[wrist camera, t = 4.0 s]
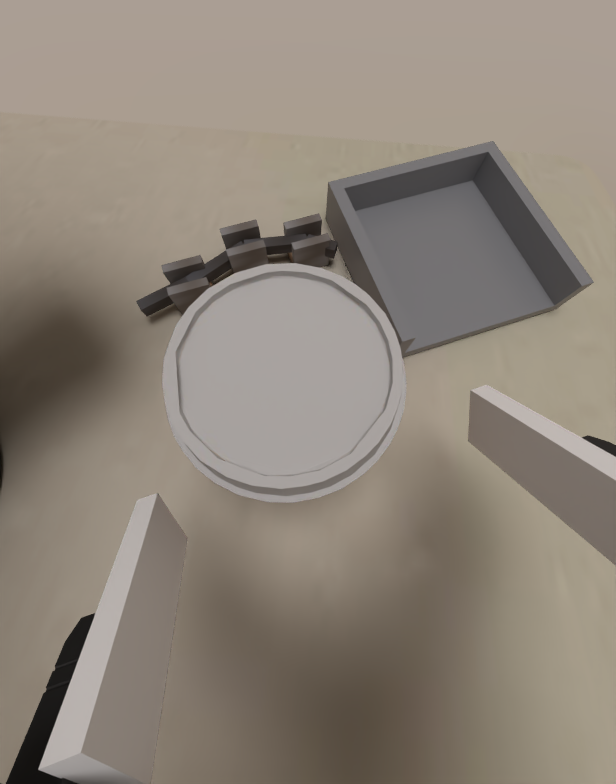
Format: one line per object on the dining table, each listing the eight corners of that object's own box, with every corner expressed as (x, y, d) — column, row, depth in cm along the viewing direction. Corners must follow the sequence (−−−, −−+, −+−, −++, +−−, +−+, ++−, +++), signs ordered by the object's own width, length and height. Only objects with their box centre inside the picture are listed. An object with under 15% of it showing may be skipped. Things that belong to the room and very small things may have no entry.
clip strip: (151, 325, 25) (132, 305, 22) (142, 277, 26) (123, 253, 23) (340, 271, 26) (344, 247, 23) (322, 229, 27) (323, 202, 25)
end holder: (389, 361, 24) (402, 341, 20) (325, 218, 28) (328, 182, 24) (555, 309, 25) (594, 282, 22) (471, 180, 29) (493, 141, 26)
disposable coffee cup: (259, 349, 24) (215, 227, 12) (375, 387, 23) (442, 291, 12) (209, 466, 21) (95, 446, 10) (337, 513, 20) (377, 551, 9)
